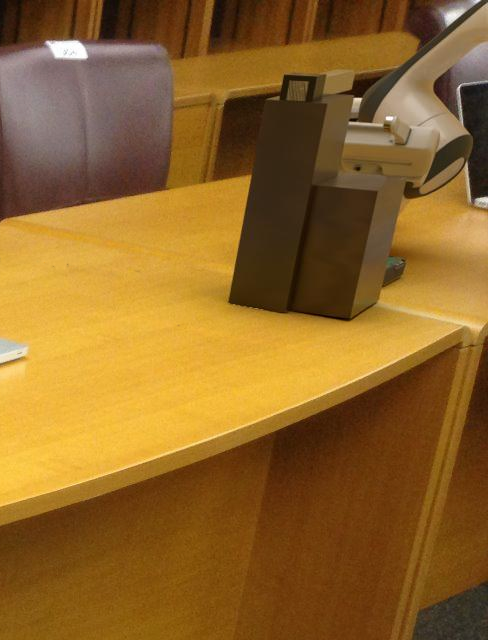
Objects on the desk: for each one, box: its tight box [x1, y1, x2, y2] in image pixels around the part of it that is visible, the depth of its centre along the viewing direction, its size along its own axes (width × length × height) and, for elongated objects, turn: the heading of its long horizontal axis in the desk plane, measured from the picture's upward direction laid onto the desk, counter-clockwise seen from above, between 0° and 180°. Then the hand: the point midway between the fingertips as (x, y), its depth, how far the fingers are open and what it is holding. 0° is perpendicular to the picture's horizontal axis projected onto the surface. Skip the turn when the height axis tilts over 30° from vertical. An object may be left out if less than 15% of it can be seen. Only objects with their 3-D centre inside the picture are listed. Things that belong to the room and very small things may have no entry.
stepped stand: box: [227, 93, 407, 320], centre depth 200 cm, size 15×16×26 cm
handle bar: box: [279, 69, 356, 102], centre depth 197 cm, size 4×20×3 cm, turn 141°
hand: (354, 118), depth 213 cm, fingers open, 8 cm apart
